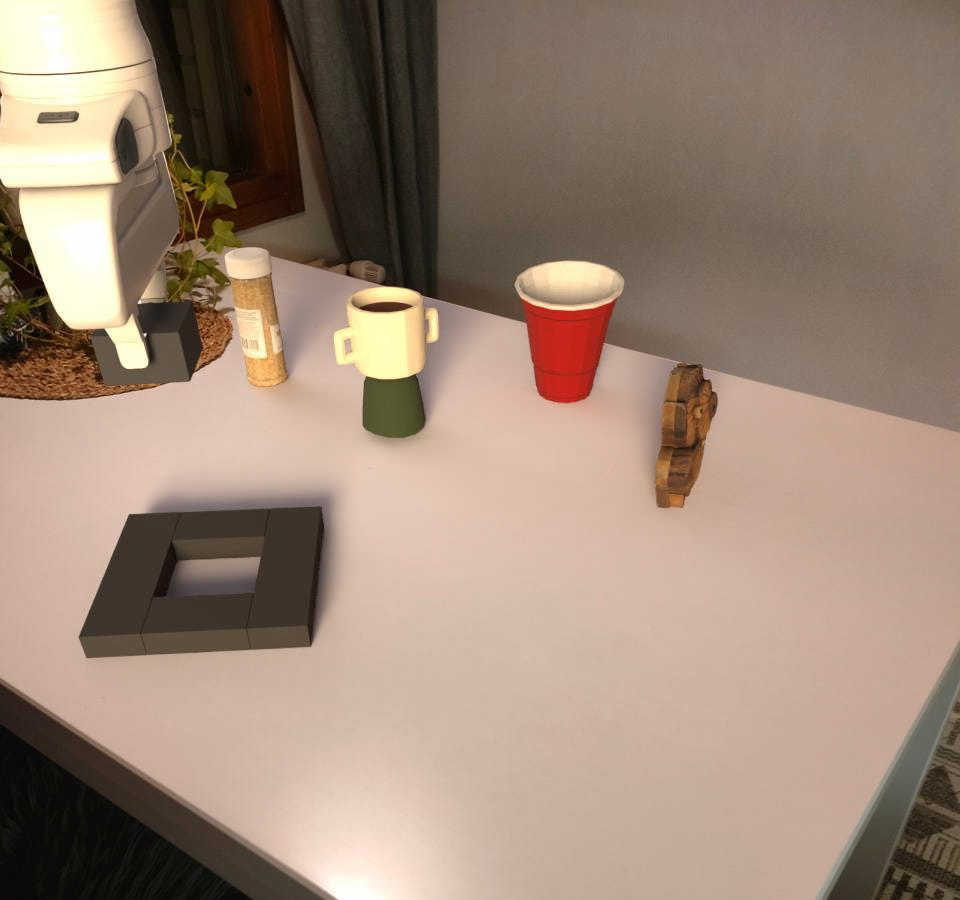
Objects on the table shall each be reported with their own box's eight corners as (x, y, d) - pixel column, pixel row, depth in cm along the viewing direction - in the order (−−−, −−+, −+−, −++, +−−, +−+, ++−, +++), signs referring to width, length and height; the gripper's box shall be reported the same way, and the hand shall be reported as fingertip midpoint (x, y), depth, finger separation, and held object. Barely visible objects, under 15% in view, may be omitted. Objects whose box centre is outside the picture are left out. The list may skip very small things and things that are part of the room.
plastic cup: (497, 404, 96) (498, 289, 88) (533, 364, 103) (536, 254, 95) (597, 423, 92) (607, 304, 85) (626, 380, 100) (637, 267, 92)
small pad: (104, 386, 63) (89, 336, 60) (123, 352, 67) (109, 304, 65) (190, 382, 63) (178, 332, 61) (203, 348, 67) (192, 300, 65)
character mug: (423, 402, 96) (417, 276, 88) (459, 429, 92) (456, 299, 83) (329, 429, 92) (313, 299, 83) (362, 459, 87) (348, 324, 79)
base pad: (86, 658, 65) (77, 637, 64) (134, 533, 78) (128, 513, 76) (311, 647, 66) (307, 626, 65) (324, 525, 78) (321, 505, 77)
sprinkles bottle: (296, 379, 101) (278, 252, 92) (261, 391, 98) (239, 263, 90) (272, 366, 103) (253, 242, 95) (238, 378, 101) (214, 252, 92)
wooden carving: (700, 532, 77) (720, 423, 71) (646, 525, 78) (660, 418, 72) (707, 440, 90) (724, 341, 83) (660, 436, 90) (673, 337, 84)
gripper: (80, 88, 63) (133, 292, 72) (-21, 162, 47) (64, 411, 56) (174, 85, 63) (215, 288, 72) (104, 157, 47) (168, 405, 56)
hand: (148, 343), depth 64 cm, fingers closed on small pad, 6 cm apart
